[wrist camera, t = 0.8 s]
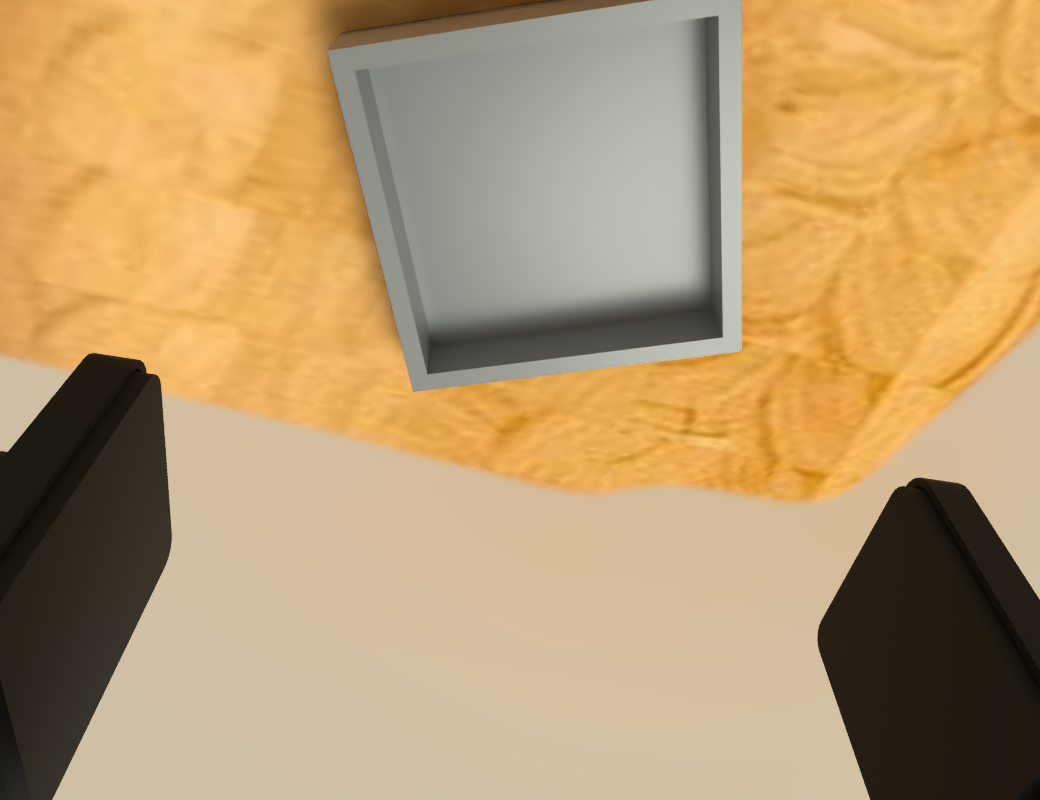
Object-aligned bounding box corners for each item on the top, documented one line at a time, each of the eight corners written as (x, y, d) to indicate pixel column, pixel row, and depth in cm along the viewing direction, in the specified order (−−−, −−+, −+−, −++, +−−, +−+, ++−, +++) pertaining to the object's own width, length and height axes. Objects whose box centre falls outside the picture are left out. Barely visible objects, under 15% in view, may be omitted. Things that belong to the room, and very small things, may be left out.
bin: (722, -27, 30) (742, -14, 27) (726, 315, 37) (741, 351, 35) (342, 32, 31) (326, 50, 28) (419, 354, 38) (413, 392, 36)
